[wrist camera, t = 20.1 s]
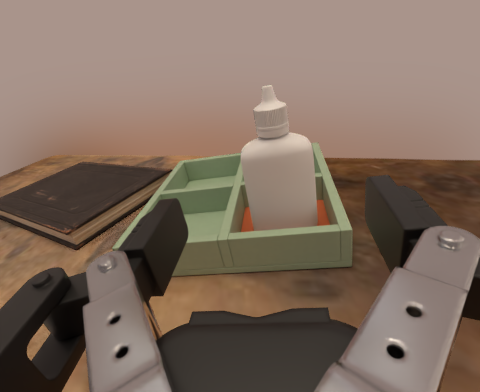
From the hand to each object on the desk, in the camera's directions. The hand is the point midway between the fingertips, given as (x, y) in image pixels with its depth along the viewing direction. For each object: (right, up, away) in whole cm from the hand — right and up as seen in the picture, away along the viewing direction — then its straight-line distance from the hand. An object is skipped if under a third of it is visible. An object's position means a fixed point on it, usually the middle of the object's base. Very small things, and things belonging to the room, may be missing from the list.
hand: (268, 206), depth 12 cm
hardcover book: (-24, 0, +29) cm, 38 cm away
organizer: (-1, -1, +18) cm, 18 cm away
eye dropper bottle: (+3, -2, +13) cm, 14 cm away
